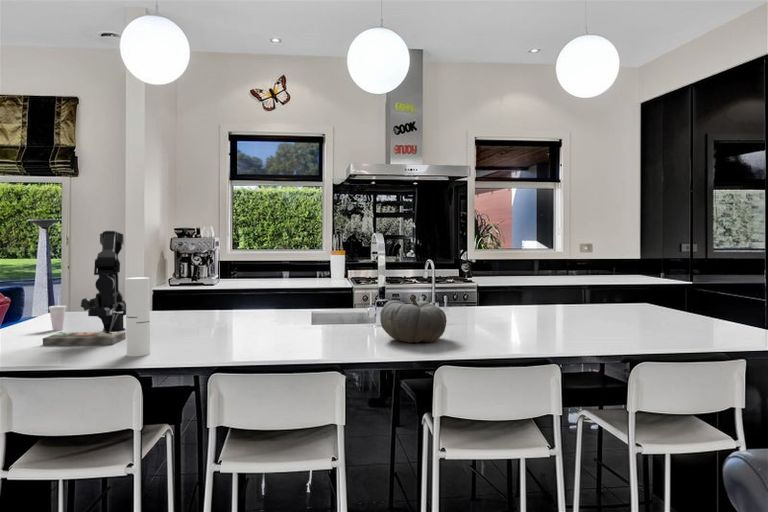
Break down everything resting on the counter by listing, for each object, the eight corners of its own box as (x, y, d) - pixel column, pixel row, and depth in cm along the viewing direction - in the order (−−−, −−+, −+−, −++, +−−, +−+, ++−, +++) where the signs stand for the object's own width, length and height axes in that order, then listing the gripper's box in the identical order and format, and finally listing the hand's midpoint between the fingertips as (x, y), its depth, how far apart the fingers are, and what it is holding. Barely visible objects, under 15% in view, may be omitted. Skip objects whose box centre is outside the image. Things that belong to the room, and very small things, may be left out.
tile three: (98, 343, 208) (97, 333, 208) (103, 340, 213) (103, 331, 213) (112, 343, 209) (112, 333, 208) (117, 340, 214) (117, 331, 213)
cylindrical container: (131, 352, 192) (130, 277, 192) (153, 351, 193) (152, 277, 192) (123, 356, 185) (122, 279, 184) (146, 356, 186) (145, 278, 185)
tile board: (42, 345, 204) (42, 338, 203) (59, 339, 216) (59, 332, 215) (112, 344, 205) (112, 337, 205) (125, 338, 217) (125, 332, 217)
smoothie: (58, 331, 233) (58, 296, 233) (45, 330, 235) (44, 296, 234) (70, 328, 240) (69, 295, 239) (57, 328, 241) (56, 294, 240)
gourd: (363, 333, 215) (372, 287, 215) (406, 335, 233) (414, 293, 234) (413, 349, 198) (423, 299, 198) (455, 351, 216) (464, 305, 216)
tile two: (52, 343, 207) (52, 334, 207) (59, 341, 212) (58, 331, 212) (66, 343, 207) (66, 334, 207) (73, 340, 212) (73, 331, 212)
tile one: (75, 343, 208) (75, 334, 208) (81, 340, 213) (81, 331, 213) (89, 343, 208) (89, 333, 208) (95, 340, 213) (95, 331, 213)
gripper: (95, 287, 219) (96, 328, 220) (72, 292, 200) (73, 337, 201) (125, 287, 220) (126, 328, 220) (105, 292, 201) (106, 337, 202)
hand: (107, 332), depth 211 cm, fingers closed, pressing on tile three
